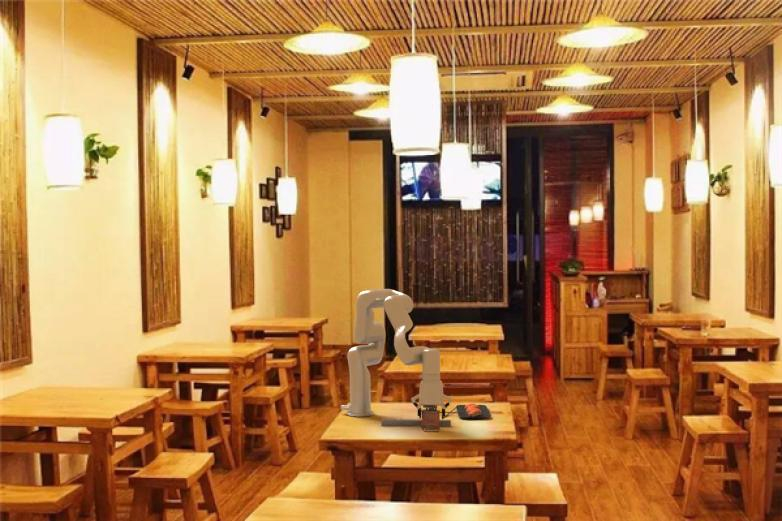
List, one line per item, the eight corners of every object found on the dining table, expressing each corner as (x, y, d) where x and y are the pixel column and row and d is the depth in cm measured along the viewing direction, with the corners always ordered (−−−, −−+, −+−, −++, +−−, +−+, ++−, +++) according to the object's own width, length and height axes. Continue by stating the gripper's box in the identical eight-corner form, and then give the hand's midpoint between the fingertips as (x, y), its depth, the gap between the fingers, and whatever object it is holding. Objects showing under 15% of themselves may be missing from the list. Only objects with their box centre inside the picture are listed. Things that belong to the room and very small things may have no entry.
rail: (381, 425, 371) (381, 418, 371) (381, 424, 374) (381, 417, 374) (450, 426, 369) (450, 419, 369) (450, 425, 371) (450, 418, 371)
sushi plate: (491, 421, 381) (491, 412, 381) (424, 421, 382) (424, 413, 382) (485, 408, 410) (485, 400, 410) (423, 408, 411) (423, 400, 411)
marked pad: (423, 431, 359) (423, 430, 359) (425, 426, 370) (425, 424, 370) (438, 431, 358) (438, 430, 358) (439, 426, 369) (439, 425, 369)
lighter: (440, 427, 365) (440, 404, 364) (438, 429, 361) (438, 405, 361) (422, 426, 367) (422, 403, 367) (420, 428, 364) (420, 404, 364)
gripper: (410, 379, 361) (410, 419, 361) (451, 379, 359) (451, 420, 360) (411, 376, 368) (411, 416, 369) (451, 376, 367) (452, 416, 367)
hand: (431, 418), depth 364 cm, fingers open, 9 cm apart
